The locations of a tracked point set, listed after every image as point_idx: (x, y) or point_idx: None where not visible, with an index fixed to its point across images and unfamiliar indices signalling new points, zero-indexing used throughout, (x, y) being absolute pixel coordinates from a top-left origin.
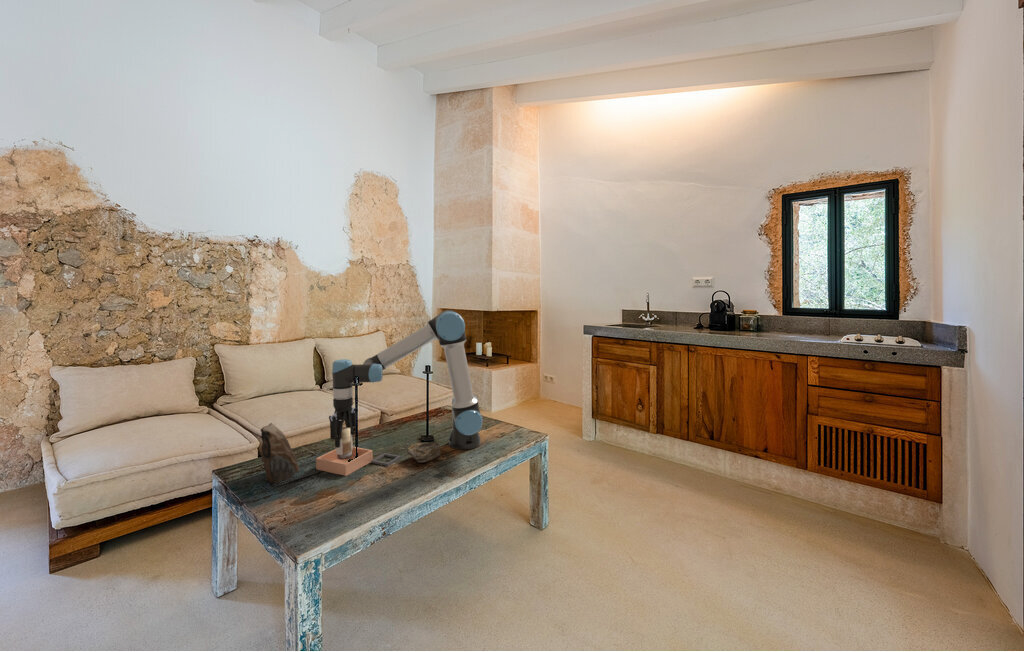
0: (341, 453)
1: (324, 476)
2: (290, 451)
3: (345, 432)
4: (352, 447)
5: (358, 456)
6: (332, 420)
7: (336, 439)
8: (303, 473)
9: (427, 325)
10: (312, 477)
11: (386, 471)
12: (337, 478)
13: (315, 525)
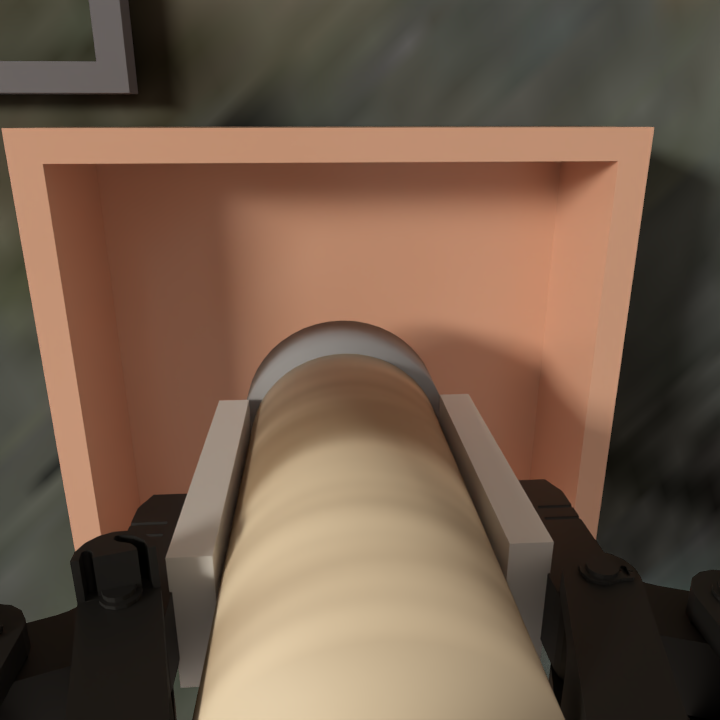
0: (472, 403)
1: (656, 351)
2: None
3: (484, 618)
4: (217, 415)
5: (117, 362)
6: None
7: (709, 574)
8: (648, 578)
9: None
10: (704, 441)
11: None
12: (665, 176)
13: None
